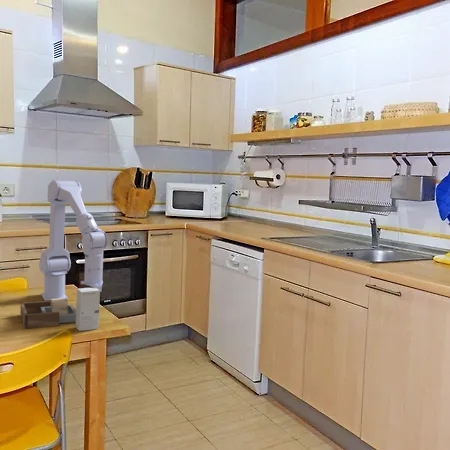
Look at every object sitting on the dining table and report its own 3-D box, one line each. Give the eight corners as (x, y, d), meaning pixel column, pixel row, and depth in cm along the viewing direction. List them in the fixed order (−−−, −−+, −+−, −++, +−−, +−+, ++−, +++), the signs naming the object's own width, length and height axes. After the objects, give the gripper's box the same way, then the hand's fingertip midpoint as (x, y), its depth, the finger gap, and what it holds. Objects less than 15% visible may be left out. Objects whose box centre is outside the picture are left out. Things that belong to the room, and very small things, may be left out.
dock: (20, 314, 157) (20, 302, 156) (51, 312, 161) (52, 300, 161) (25, 328, 144) (25, 315, 144) (58, 325, 149) (59, 312, 149)
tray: (40, 313, 159) (40, 300, 159) (83, 309, 166) (83, 297, 165) (45, 325, 148) (45, 311, 147) (92, 321, 154) (92, 307, 154)
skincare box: (79, 331, 145) (80, 292, 143) (74, 327, 148) (75, 288, 147) (99, 328, 148) (100, 290, 147) (94, 324, 152) (95, 286, 150)
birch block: (50, 314, 157) (50, 299, 156) (64, 312, 159) (65, 298, 158) (52, 318, 153) (53, 302, 152) (67, 316, 155) (67, 301, 154)
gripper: (76, 263, 163) (75, 303, 165) (86, 273, 151) (85, 315, 152) (97, 263, 167) (96, 301, 168) (108, 272, 154) (107, 313, 156)
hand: (92, 308), depth 161 cm, fingers closed, pressing on tray
